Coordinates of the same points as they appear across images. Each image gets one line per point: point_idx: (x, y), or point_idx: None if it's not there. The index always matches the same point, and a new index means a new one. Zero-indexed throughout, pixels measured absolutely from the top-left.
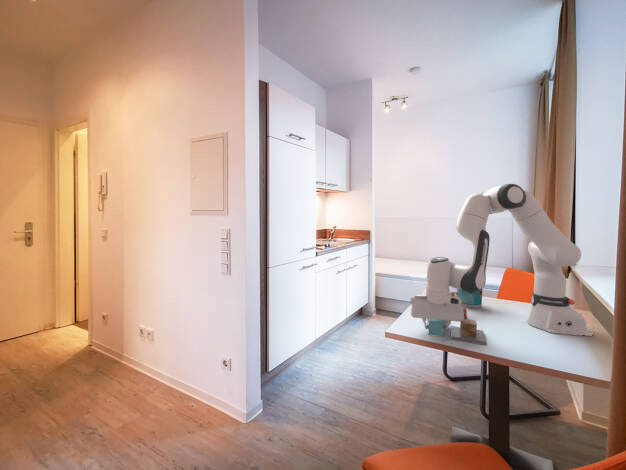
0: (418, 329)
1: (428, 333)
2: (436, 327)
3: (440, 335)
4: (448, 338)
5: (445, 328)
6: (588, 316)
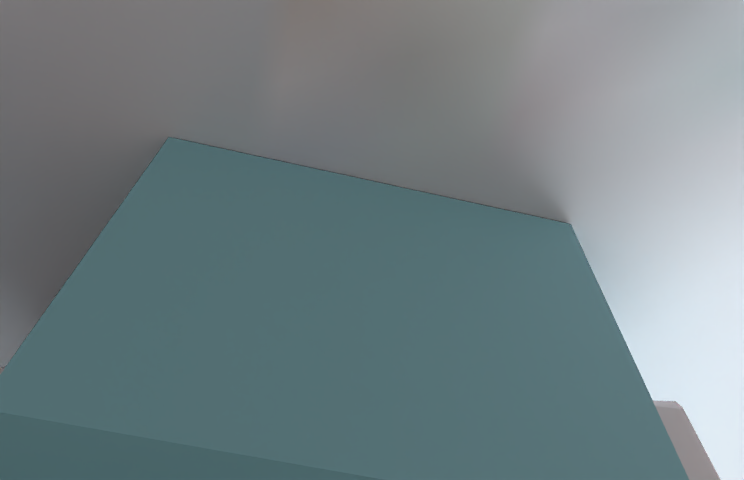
0: (719, 467)
1: (575, 238)
2: (347, 339)
3: (232, 162)
4: (4, 40)
5: None
6: None
